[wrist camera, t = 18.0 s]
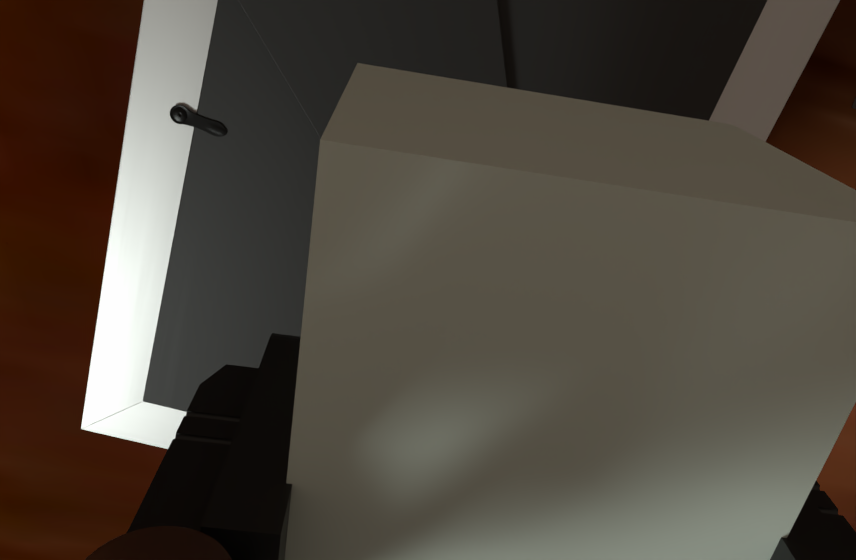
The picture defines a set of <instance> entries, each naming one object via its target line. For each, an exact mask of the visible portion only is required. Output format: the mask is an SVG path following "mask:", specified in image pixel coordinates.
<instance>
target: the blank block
mask: <svg viewBox="0 0 856 560" xmlns="http://www.w3.org/2000/svg"><path fill="white" fill-rule="evenodd" d="M855 402H856V190H854V189H852V188H850V187H849V186H847V185H845V184H843V183H841V182H839V181H837V180H835V179H834V178H832V177H830V176H828V175H826V174H824V173H822V172H821V171H819V170H817V169H815V168H813V167H811V166H809V165H807V164H806V163H804V162H802V161H800V160H798V159H796V158H794V157H792V156H791V155H789V154H787V153H785V152H783V151H781V150H779V149H777V148H776V147H774V146H772V145H770V144H768V143H766V142H764V141H763V140H761V139H759V138H757V137H755V136H753V135H751V134H749V133H748V132H746V131H744V130H742V129H740V128H738V127H736V126H734V125H732V124H725V123H719V122H713V121H707V120H701V119H695V118H689V117H683V116H677V115H671V114H665V113H659V112H653V111H647V110H640V109H634V108H628V107H622V106H616V105H610V104H604V103H598V102H592V101H586V100H580V99H574V98H568V97H562V96H555V95H549V94H543V93H537V92H531V91H525V90H519V89H513V88H507V87H501V86H495V85H489V84H483V83H477V82H470V81H464V80H458V79H452V78H446V77H440V76H434V75H428V74H422V73H416V72H410V71H404V70H398V69H392V68H385V67H379V66H373V65H367V64H361V63H357V65H356V67H355V69H354V71H353V73H352V76H351V78H350V80H349V82H348V84H347V86H346V88H345V90H344V92H343V94H342V96H341V98H340V100H339V102H338V104H337V106H336V108H335V110H334V112H333V114H332V116H331V118H330V120H329V123H328V125H327V127H326V129H325V131H324V133H323V135H322V137H321V139H320V146H319V156H318V166H317V176H316V186H315V197H314V207H313V217H312V227H311V237H310V247H309V257H308V268H307V278H306V288H305V298H304V308H303V318H302V328H301V338H300V349H299V359H298V369H297V379H296V389H295V399H294V409H293V420H292V430H291V440H290V450H289V460H288V470H287V480H286V483H288V484H292V491H291V500H290V510H289V520H288V530H287V540H286V550H285V560H770V559H771V557H772V555H773V553H774V551H775V549H776V547H777V545H778V543H779V541H780V539H781V537H783V538H787V537H788V535H789V533H790V531H791V529H792V527H793V525H794V523H795V521H796V519H797V517H798V515H799V513H800V511H801V509H802V507H803V505H804V503H805V501H806V499H807V497H808V495H809V493H810V491H811V489H812V487H813V485H814V483H815V481H816V479H817V477H818V475H819V473H820V471H821V469H822V467H823V465H824V463H825V462H826V460H827V458H828V456H829V454H830V452H831V450H832V448H833V446H834V444H835V442H836V440H837V438H838V436H839V434H840V432H841V430H842V428H843V426H844V424H845V422H846V420H847V418H848V416H849V414H850V412H851V410H852V408H853V406H854V404H855Z"/></svg>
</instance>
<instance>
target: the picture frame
mask: <svg viewBox="0 0 856 560" xmlns="http://www.w3.org/2000/svg"><path fill="white" fill-rule="evenodd" d="M839 1H840V0H144V2H143V9H142V16H141V23H140V29H139V36H138V43H137V50H136V57H135V63H134V70H133V77H132V84H131V91H130V97H129V104H128V111H127V118H126V125H125V131H124V138H123V145H122V152H121V158H120V165H119V172H118V179H117V186H116V192H115V199H114V206H113V213H112V220H111V226H110V233H109V240H108V247H107V254H106V260H105V267H104V274H103V281H102V287H101V294H100V301H99V308H98V315H97V321H96V328H95V335H94V342H93V349H92V355H91V362H90V369H89V376H88V383H87V389H86V396H85V403H84V410H83V416H82V423H81V428H82V429H83V430H87V431H92V432H96V433H100V434H105V435H109V436H113V437H118V438H122V439H126V440H131V441H135V442H139V443H144V444H148V445H152V446H157V447H161V448H165V449H168V448H169V446H170V444H171V442H172V440H173V439H175V436H176V432H177V430H178V428H179V426H180V424H181V422H182V420H183V417H184V416H186V413H187V409H188V407H189V405H190V403H191V401H192V399H193V397H194V395H195V393H196V391H197V389H198V387H199V385H200V384H201V383H202V382H204V381H205V380H206V379H208V378H209V377H210V376H212V375H213V374H214V373H216V372H217V371H218V370H219V369H221V368H222V367H223V366H225V365H226V364H228V365H236V366H245V367H253V368H259V366H260V363H261V360H262V357H263V355H264V352H265V349H266V346H267V344H268V341H269V338H270V336H271V334H272V333H276V334H284V335H292V336H299V337H301V328H302V318H303V308H304V298H305V288H306V278H307V268H308V257H309V247H310V237H311V227H312V217H313V207H314V197H315V186H316V176H317V166H318V156H319V146H320V139H321V137H322V135H323V133H324V131H325V129H326V127H327V125H328V123H329V120H330V118H331V116H332V114H333V112H334V110H335V108H336V106H337V104H338V102H339V100H340V98H341V96H342V94H343V92H344V90H345V88H346V86H347V84H348V82H349V80H350V78H351V76H352V73H353V71H354V69H355V67H356V65H357V63H361V64H367V65H373V66H379V67H385V68H392V69H398V70H404V71H410V72H416V73H422V74H428V75H434V76H440V77H446V78H452V79H458V80H464V81H470V82H477V83H483V84H489V85H495V86H501V87H507V88H513V89H519V90H525V91H531V92H537V93H543V94H549V95H555V96H562V97H568V98H574V99H580V100H586V101H592V102H598V103H604V104H610V105H616V106H622V107H628V108H634V109H640V110H647V111H653V112H659V113H665V114H671V115H677V116H683V117H689V118H695V119H701V120H707V121H713V122H719V123H725V124H732V125H734V126H736V127H738V128H740V129H742V130H744V131H746V132H748V133H749V134H751V135H753V136H755V137H757V138H759V139H761V140H763V141H764V142H766V140H767V138H768V136H769V134H770V132H771V130H772V129H773V127H774V125H775V123H776V121H777V119H778V117H779V115H780V113H781V112H782V110H783V108H784V106H785V104H786V102H787V100H788V98H789V96H790V94H791V93H792V91H793V89H794V87H795V85H796V83H797V81H798V79H799V77H800V75H801V74H802V72H803V70H804V68H805V66H806V64H807V62H808V60H809V58H810V56H811V55H812V53H813V51H814V49H815V47H816V45H817V43H818V41H819V39H820V38H821V36H822V34H823V32H824V30H825V28H826V26H827V24H828V22H829V20H830V19H831V17H832V15H833V13H834V11H835V9H836V7H837V5H838V3H839Z"/></svg>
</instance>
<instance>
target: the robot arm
mask: <svg viewBox="0 0 856 560" xmlns="http://www.w3.org/2000/svg"><path fill="white" fill-rule="evenodd" d="M300 338H301V337H299V336H292V335H284V334H276V333H272V334H271V336H270V338H269V341H268V344H267V346H266V349H265V352H264V355H263V357H262V360H261V363H260V366H259V368H253V367H245V366H236V365H228V364H226V365H225V366H223V367H222V368H221V369H219V370H218V371H217V372H216V373H214V374H213V375H212V376H210V377H209V378H208V379H206V380H205V381H204V382H202V383H201V384H200V385H199V387H198V389H197V391H196V393H195V395H194V397H193V399H192V401H191V403H190V405H189V407H188V409H187V413H186V416H184V417H183V420H182V422H181V424H180V426H179V428H178V430H177V432H176V436H175V439H173V440H172V442H171V444H170V446H169V448H168V450H167V452H166V454H165V456H164V458H163V460H162V462H161V465H160V467H159V469H158V471H157V473H156V475H155V477H154V479H153V481H152V483H151V485H150V487H149V489H148V491H147V493H146V495H145V497H144V499H143V501H142V503H141V505H140V507H139V509H138V512H137V514H136V516H135V518H134V520H133V522H132V524H131V526H130V528H129V530H128V531H127V533H126V534H123V535H121V536H119V537H117V538H115V539H113V540H110V541H109V542H107V543H106V544H104V545H102V546H101V547H99V548H98V549H97V550H95V551H94V552H93V553H92V554H90V555H89V556H88V557H87V558H86V559H85V560H285V550H286V540H287V530H288V520H289V510H290V500H291V491H292V484H288V483H286V480H287V470H288V460H289V450H290V440H291V430H292V420H293V409H294V399H295V389H296V379H297V369H298V359H299V349H300ZM819 487H820V485H819V484H818V482H817V481H815V483H814V485H813V487H812V489H811V491H810V493H809V495H808V497H807V499H806V501H805V503H804V505H803V507H802V509H801V511H800V513H799V515H798V517H797V519H796V521H795V523H794V525H793V527H792V529H791V531H790V533H789V535H788V537H787V538H783V537H781V539H780V541H779V543H778V545H777V547H776V549H775V551H774V553H773V555H772V557H771V559H770V560H856V532H855V531H854V529H853V528H852V527H851V526H850V524H849V523H848V522H847V520H846V519H845V518H844V516H841V515H838V509H837V507H836V506H835V505H834V503H833V502H832V501H831V499H830V498H829V497H828V495H827V494H826V493H825V492H824V491H820V489H819Z"/></svg>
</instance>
